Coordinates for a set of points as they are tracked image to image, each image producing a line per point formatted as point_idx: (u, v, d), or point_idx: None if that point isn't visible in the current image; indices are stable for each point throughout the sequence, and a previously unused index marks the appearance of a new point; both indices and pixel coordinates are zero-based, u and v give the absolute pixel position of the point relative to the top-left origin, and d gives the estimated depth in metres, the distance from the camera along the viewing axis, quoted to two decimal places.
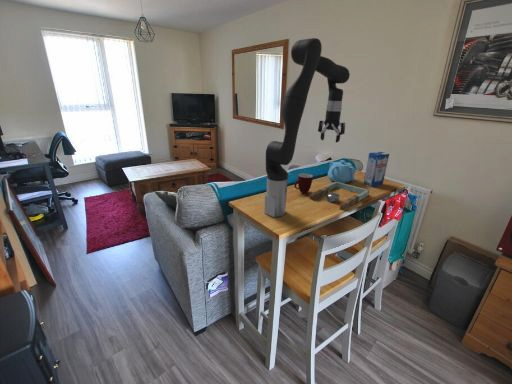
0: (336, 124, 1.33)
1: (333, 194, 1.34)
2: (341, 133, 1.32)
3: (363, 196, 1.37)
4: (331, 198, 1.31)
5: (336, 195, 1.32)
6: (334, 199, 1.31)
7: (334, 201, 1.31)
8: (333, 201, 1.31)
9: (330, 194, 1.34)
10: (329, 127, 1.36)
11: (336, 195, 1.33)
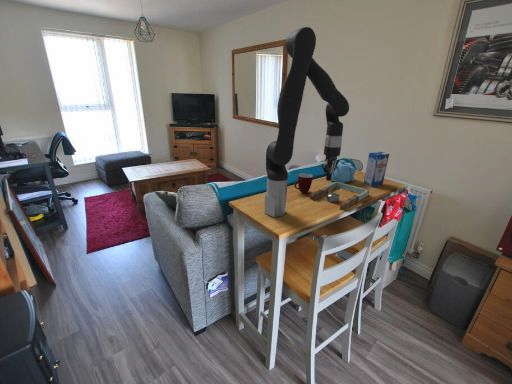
0: (335, 161, 1.22)
1: (333, 194, 1.34)
2: None
3: (363, 196, 1.37)
4: (331, 198, 1.31)
5: (336, 195, 1.32)
6: (334, 199, 1.31)
7: (334, 201, 1.31)
8: (333, 201, 1.31)
9: (330, 194, 1.34)
10: None
11: (336, 195, 1.33)
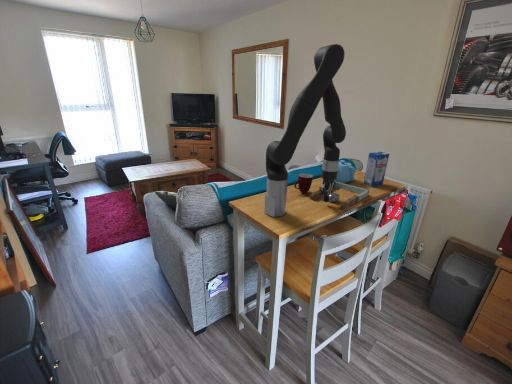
0: (332, 184, 1.26)
1: (333, 194, 1.34)
2: None
3: (363, 196, 1.37)
4: (331, 198, 1.31)
5: (336, 195, 1.32)
6: (334, 199, 1.31)
7: (334, 201, 1.31)
8: (333, 201, 1.31)
9: (330, 194, 1.34)
10: None
11: (336, 195, 1.33)
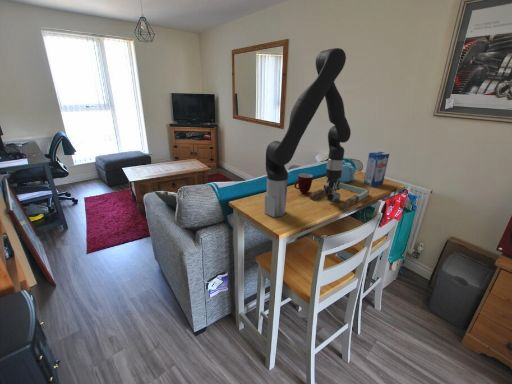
0: (336, 182, 1.29)
1: (334, 193, 1.34)
2: None
3: (363, 196, 1.37)
4: None
5: (337, 195, 1.33)
6: (335, 198, 1.32)
7: (335, 200, 1.32)
8: (334, 200, 1.32)
9: None
10: None
11: (338, 194, 1.33)
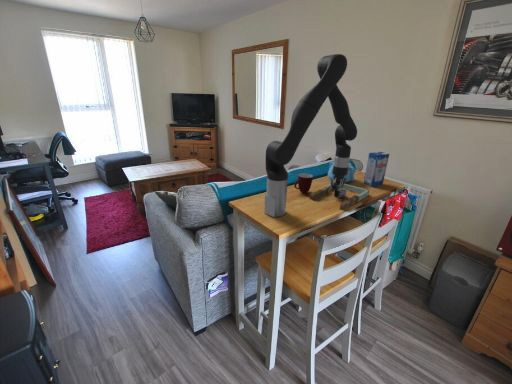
0: None
1: (340, 190, 1.39)
2: None
3: (363, 196, 1.37)
4: None
5: (343, 191, 1.38)
6: (341, 195, 1.36)
7: (341, 197, 1.37)
8: (340, 197, 1.37)
9: None
10: None
11: (344, 191, 1.38)
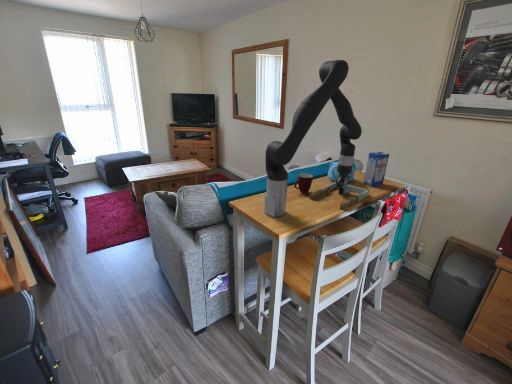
0: (347, 177, 1.38)
1: None
2: (346, 185, 1.39)
3: (363, 196, 1.37)
4: None
5: (348, 189, 1.41)
6: (345, 192, 1.40)
7: (346, 194, 1.41)
8: (345, 194, 1.41)
9: None
10: None
11: (348, 188, 1.42)
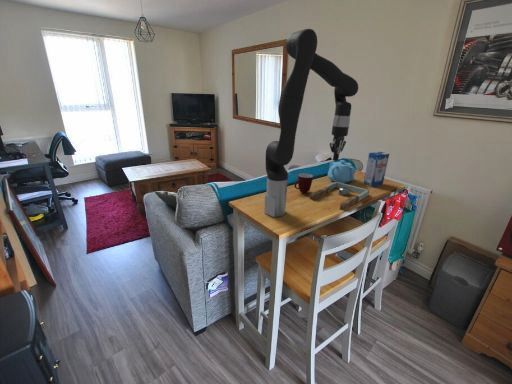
0: None
1: (344, 188, 1.43)
2: None
3: (363, 196, 1.37)
4: (343, 191, 1.40)
5: (348, 189, 1.41)
6: (345, 192, 1.40)
7: (346, 194, 1.41)
8: (345, 194, 1.41)
9: (342, 188, 1.43)
10: None
11: (348, 188, 1.42)
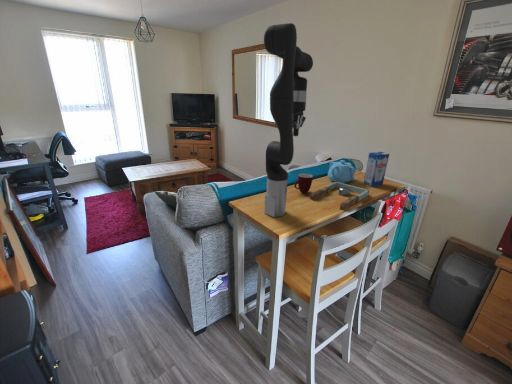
0: (302, 117, 1.30)
1: (344, 188, 1.43)
2: (301, 126, 1.31)
3: (363, 196, 1.37)
4: (343, 191, 1.40)
5: (348, 189, 1.41)
6: (345, 192, 1.40)
7: (346, 194, 1.41)
8: (345, 194, 1.41)
9: (342, 188, 1.43)
10: None
11: (348, 188, 1.42)
